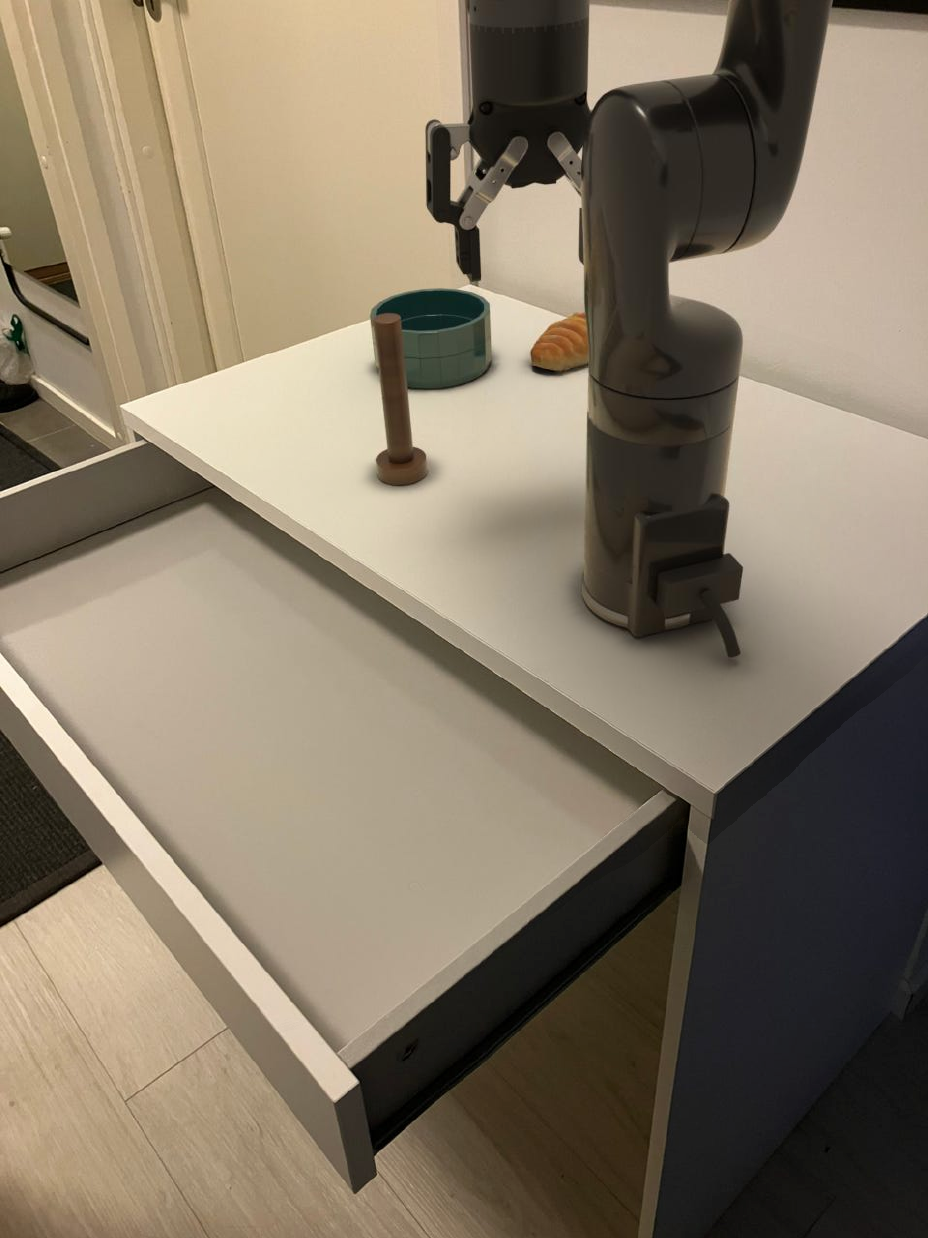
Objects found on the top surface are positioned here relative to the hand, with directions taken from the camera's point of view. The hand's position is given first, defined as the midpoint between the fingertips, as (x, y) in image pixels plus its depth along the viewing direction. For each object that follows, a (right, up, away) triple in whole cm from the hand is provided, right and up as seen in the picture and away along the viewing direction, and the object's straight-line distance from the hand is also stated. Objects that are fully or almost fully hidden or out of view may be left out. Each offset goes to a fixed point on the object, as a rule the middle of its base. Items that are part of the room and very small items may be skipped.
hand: (531, 271), depth 73 cm
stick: (-10, -12, +16) cm, 23 cm away
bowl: (-8, +2, +34) cm, 35 cm away
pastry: (+7, +2, +34) cm, 35 cm away
